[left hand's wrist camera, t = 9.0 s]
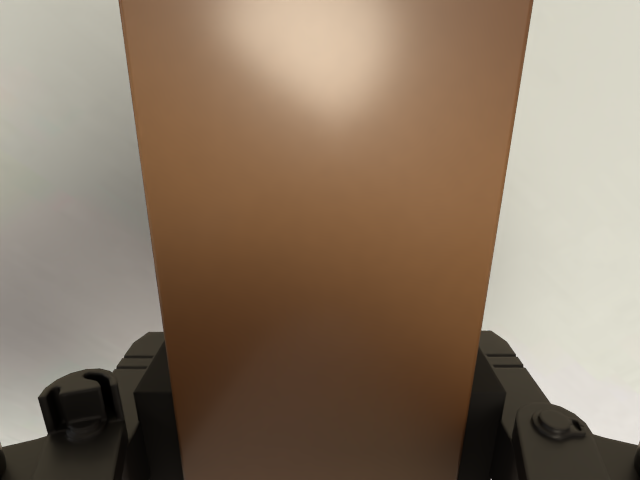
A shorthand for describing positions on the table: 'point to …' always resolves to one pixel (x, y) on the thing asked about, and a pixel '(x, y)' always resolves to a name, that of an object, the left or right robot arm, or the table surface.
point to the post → (323, 223)
